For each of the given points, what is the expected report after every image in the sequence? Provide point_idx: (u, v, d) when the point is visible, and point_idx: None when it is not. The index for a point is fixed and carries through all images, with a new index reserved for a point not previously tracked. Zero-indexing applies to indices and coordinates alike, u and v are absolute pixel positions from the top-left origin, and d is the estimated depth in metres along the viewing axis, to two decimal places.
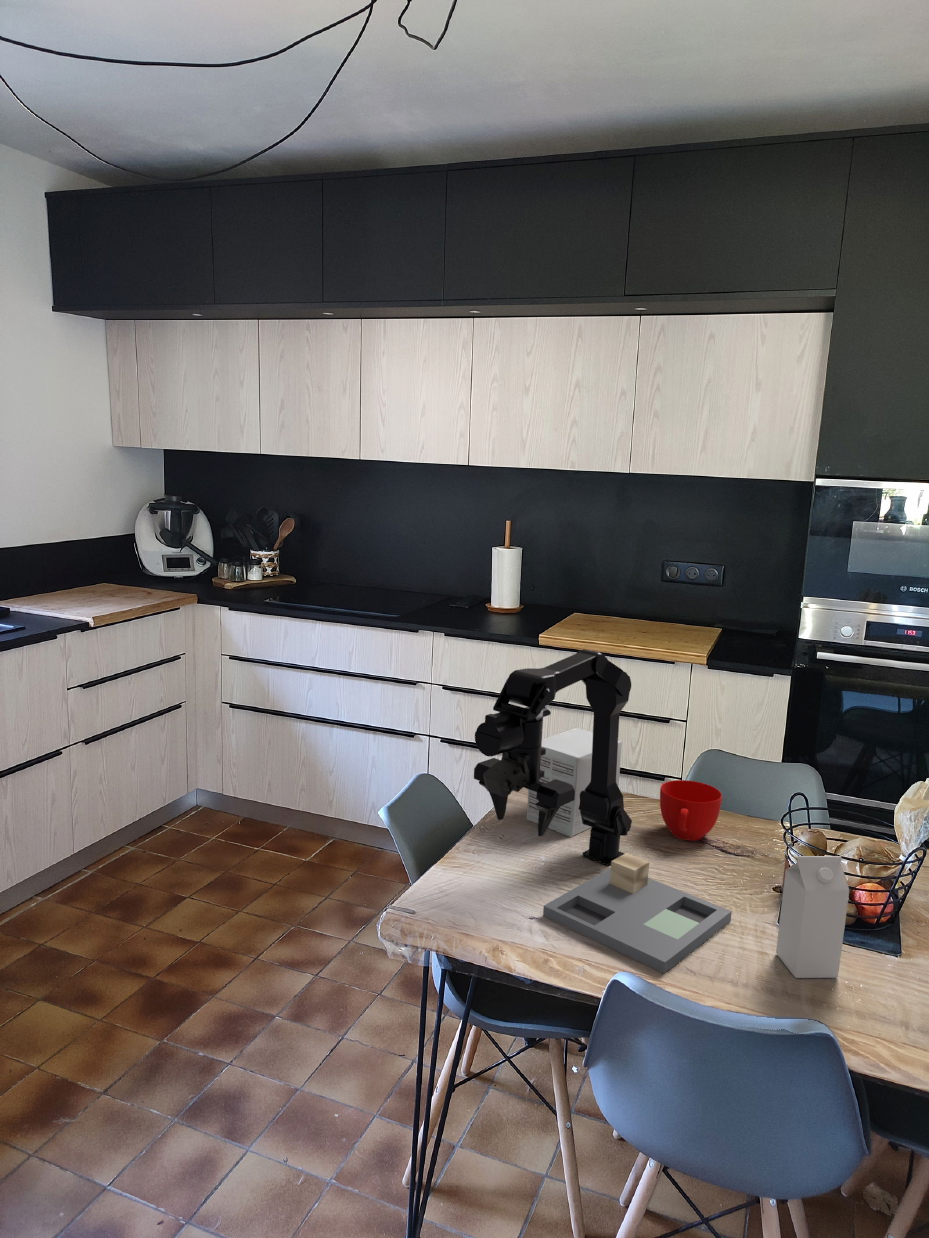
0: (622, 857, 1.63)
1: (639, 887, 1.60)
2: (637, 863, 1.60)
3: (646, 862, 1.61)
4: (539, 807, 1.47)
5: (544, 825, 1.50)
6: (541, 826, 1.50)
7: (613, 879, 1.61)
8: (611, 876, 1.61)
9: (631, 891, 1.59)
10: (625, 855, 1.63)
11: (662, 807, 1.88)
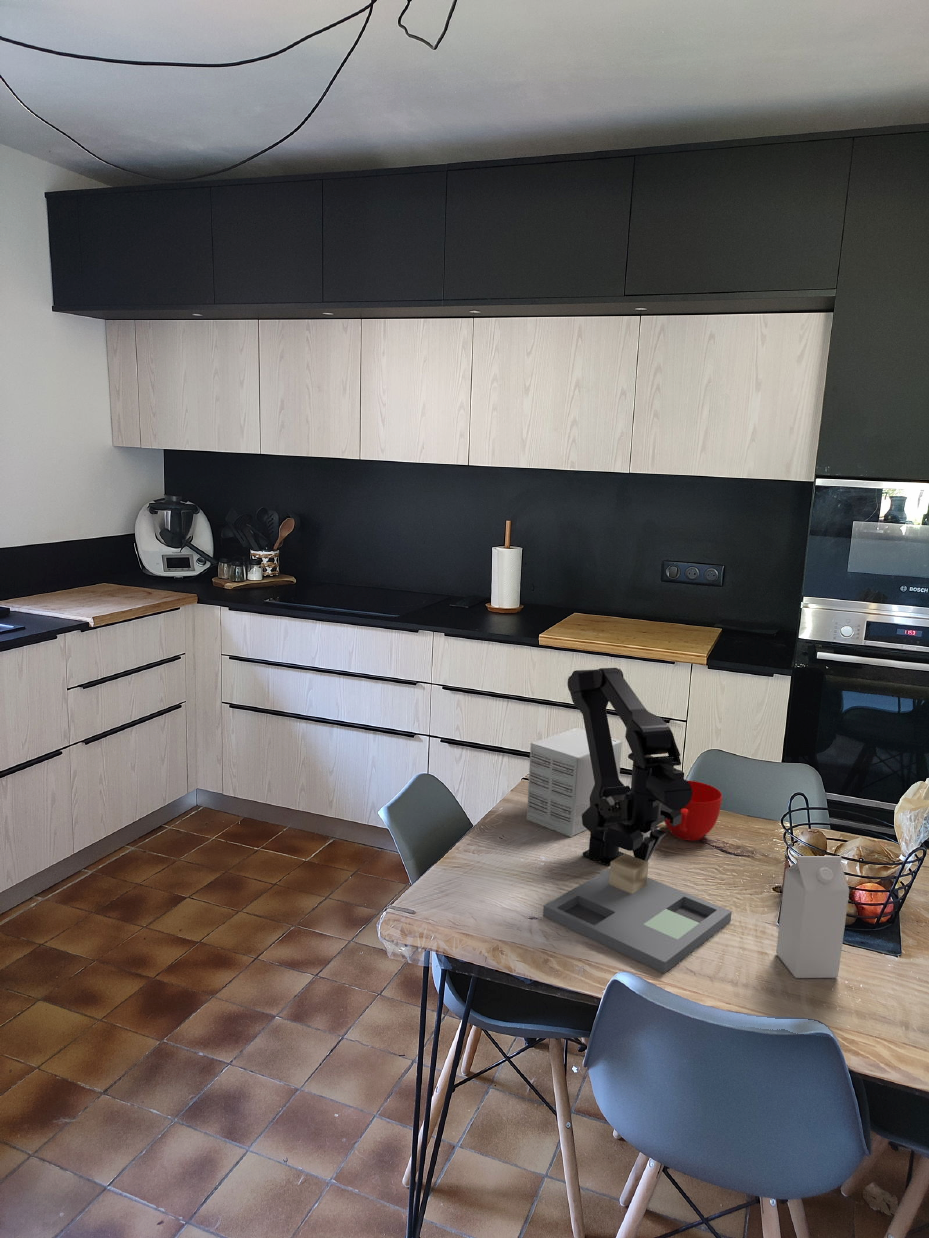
0: (621, 857, 1.62)
1: (638, 887, 1.60)
2: (636, 863, 1.60)
3: (645, 862, 1.61)
4: None
5: (636, 857, 1.63)
6: (634, 856, 1.64)
7: (612, 879, 1.61)
8: (610, 877, 1.61)
9: (630, 891, 1.58)
10: (624, 855, 1.63)
11: None
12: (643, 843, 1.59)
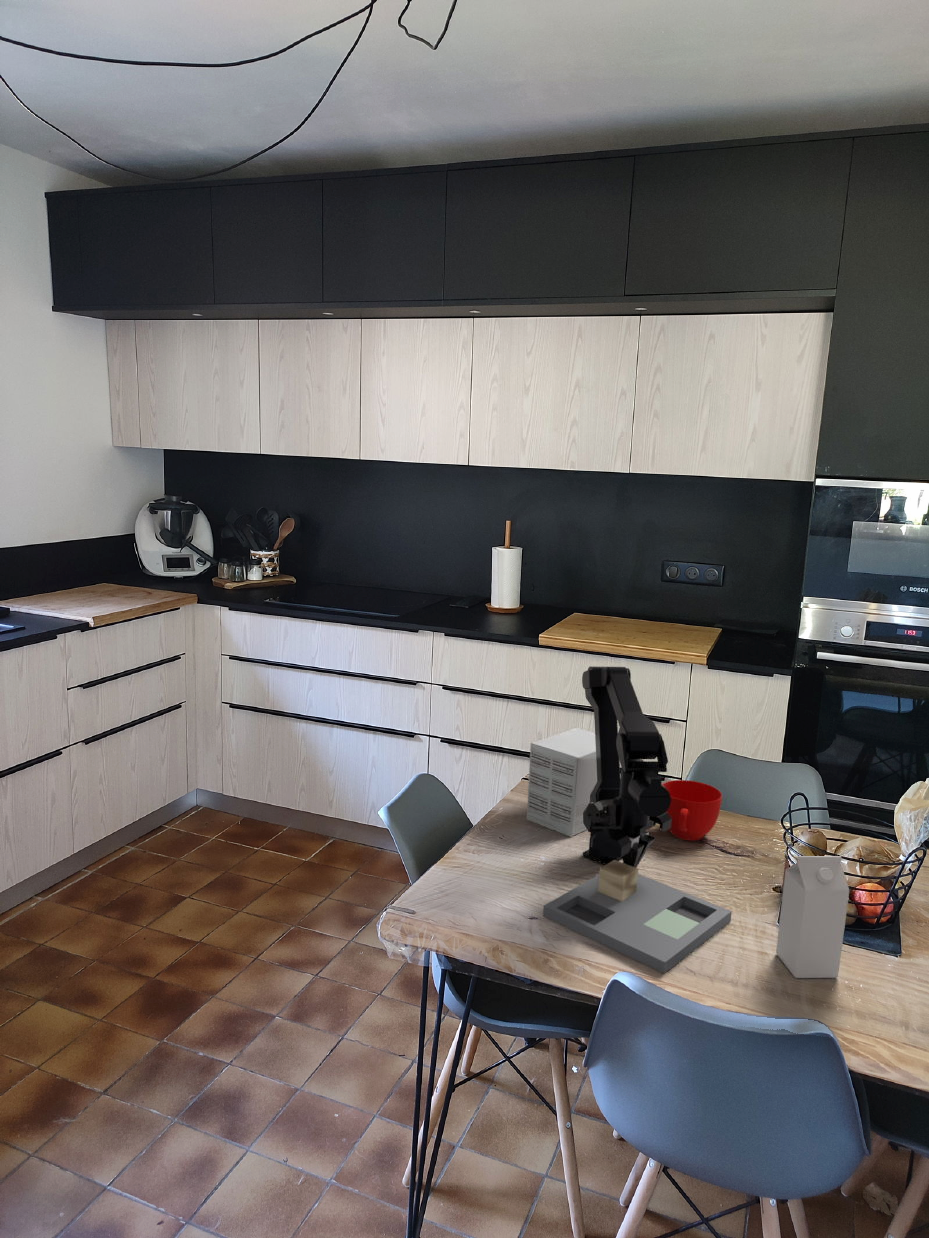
0: (610, 864, 1.60)
1: (628, 894, 1.57)
2: (626, 870, 1.58)
3: (635, 869, 1.58)
4: None
5: (625, 863, 1.60)
6: None
7: (602, 886, 1.58)
8: (599, 884, 1.58)
9: (620, 899, 1.56)
10: (613, 862, 1.60)
11: None
12: (632, 849, 1.56)
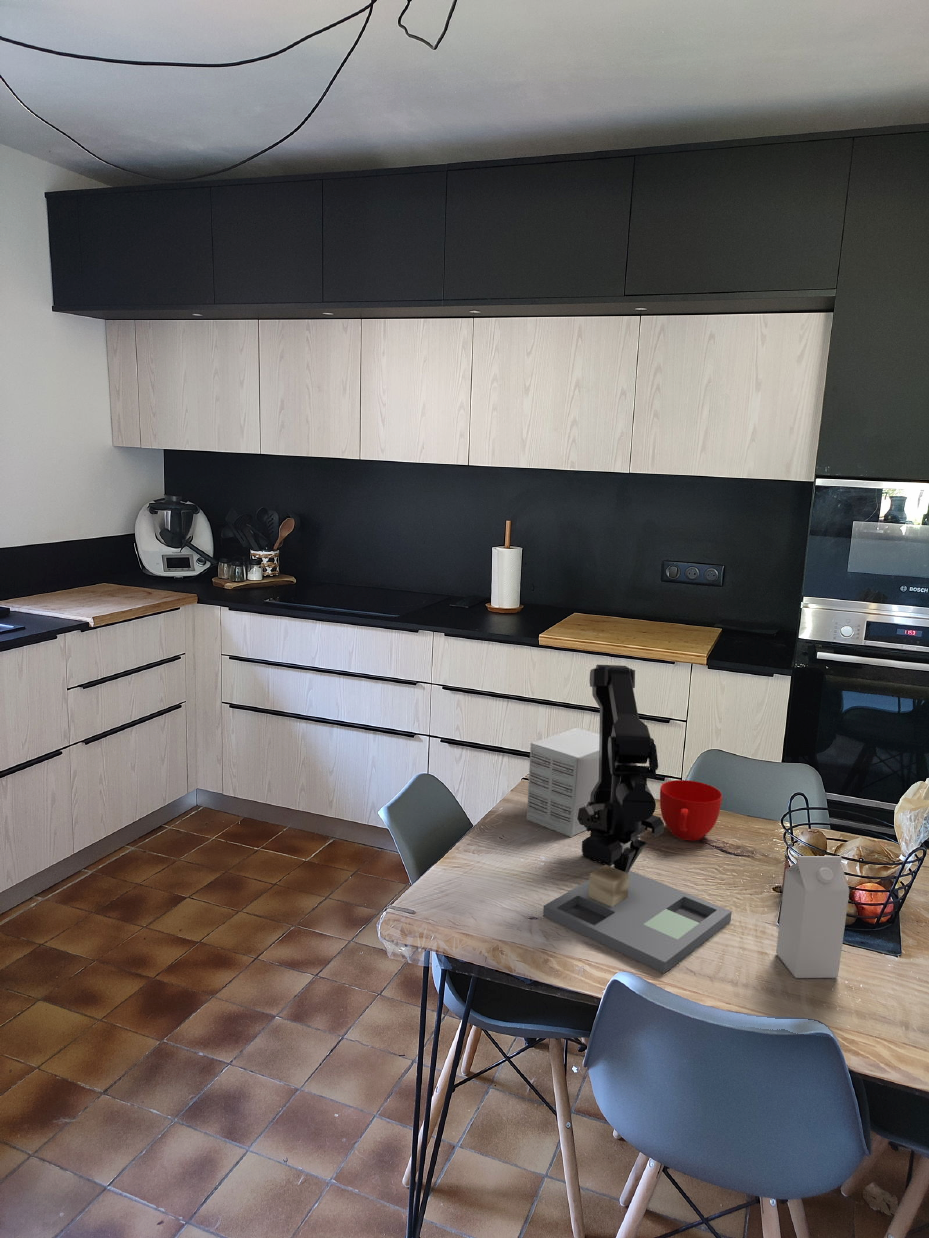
0: (601, 869, 1.57)
1: (619, 900, 1.55)
2: (617, 875, 1.55)
3: (626, 874, 1.56)
4: None
5: (617, 868, 1.58)
6: (614, 867, 1.59)
7: (592, 891, 1.56)
8: (590, 889, 1.56)
9: (610, 904, 1.53)
10: (604, 867, 1.58)
11: (662, 807, 1.88)
12: (623, 854, 1.54)
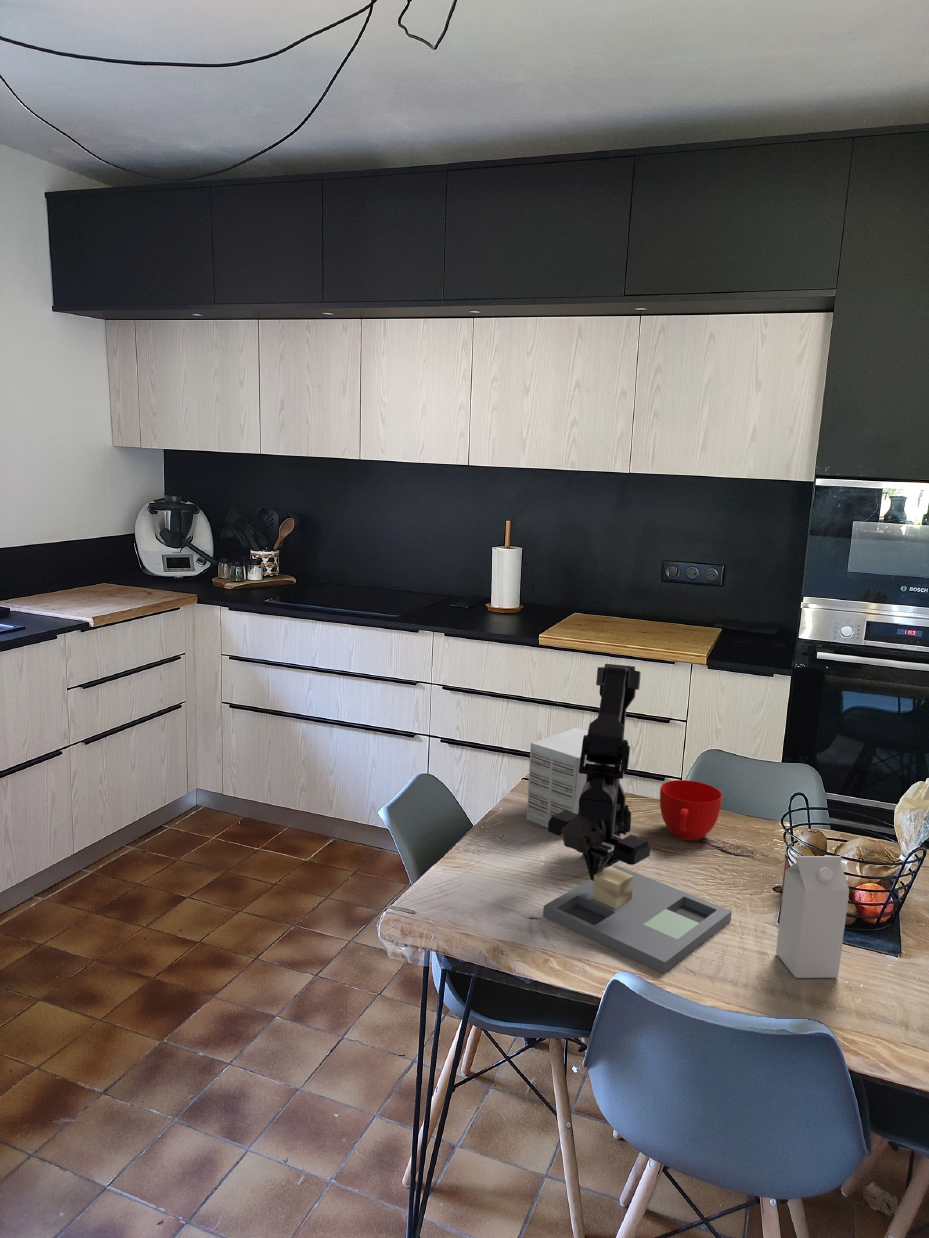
0: (605, 871, 1.57)
1: (622, 902, 1.54)
2: (620, 877, 1.55)
3: (630, 876, 1.55)
4: (594, 854, 1.54)
5: (598, 870, 1.57)
6: (595, 871, 1.57)
7: (596, 893, 1.55)
8: (594, 890, 1.56)
9: (614, 906, 1.53)
10: (609, 868, 1.58)
11: (662, 807, 1.88)
12: None
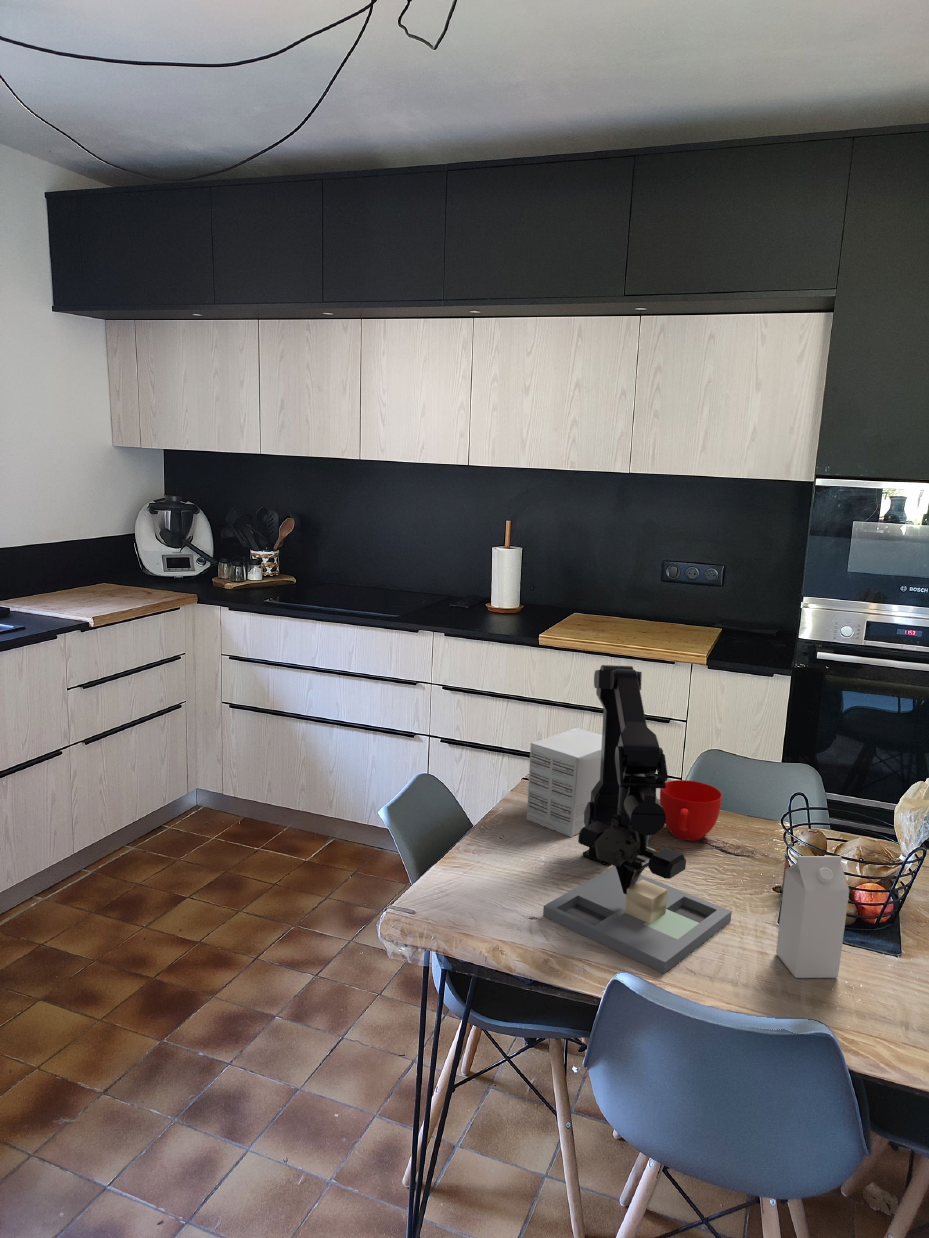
0: (638, 884, 1.52)
1: (656, 917, 1.50)
2: (654, 890, 1.50)
3: (664, 890, 1.51)
4: (628, 867, 1.50)
5: (631, 884, 1.52)
6: (628, 885, 1.52)
7: (629, 907, 1.51)
8: (626, 904, 1.51)
9: (648, 921, 1.48)
10: (641, 882, 1.53)
11: (662, 807, 1.88)
12: None
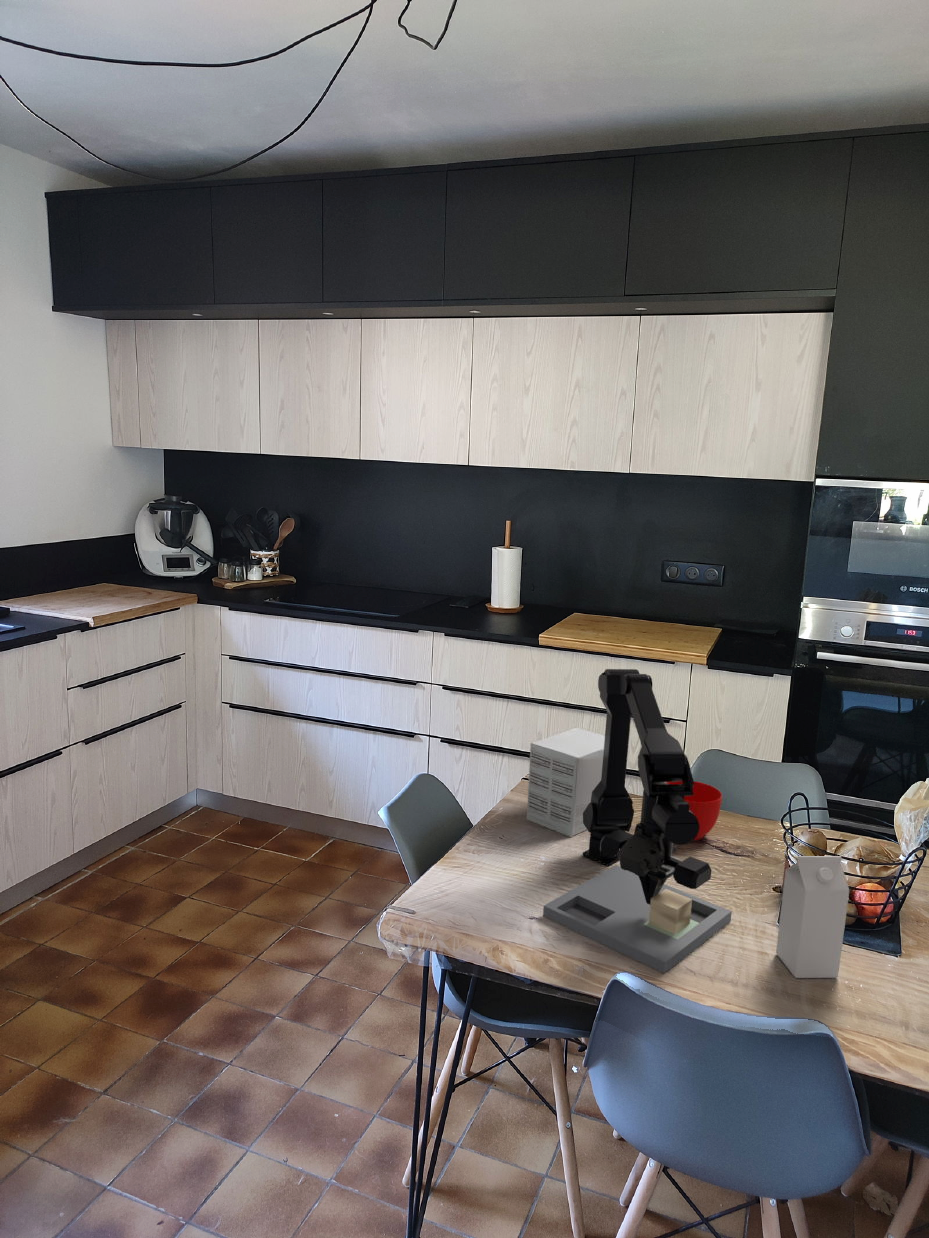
0: (662, 894, 1.49)
1: (681, 927, 1.47)
2: (679, 900, 1.47)
3: (689, 900, 1.48)
4: (652, 877, 1.47)
5: (654, 893, 1.49)
6: (652, 894, 1.49)
7: (653, 918, 1.48)
8: (650, 915, 1.48)
9: (673, 932, 1.45)
10: (665, 891, 1.50)
11: None
12: None
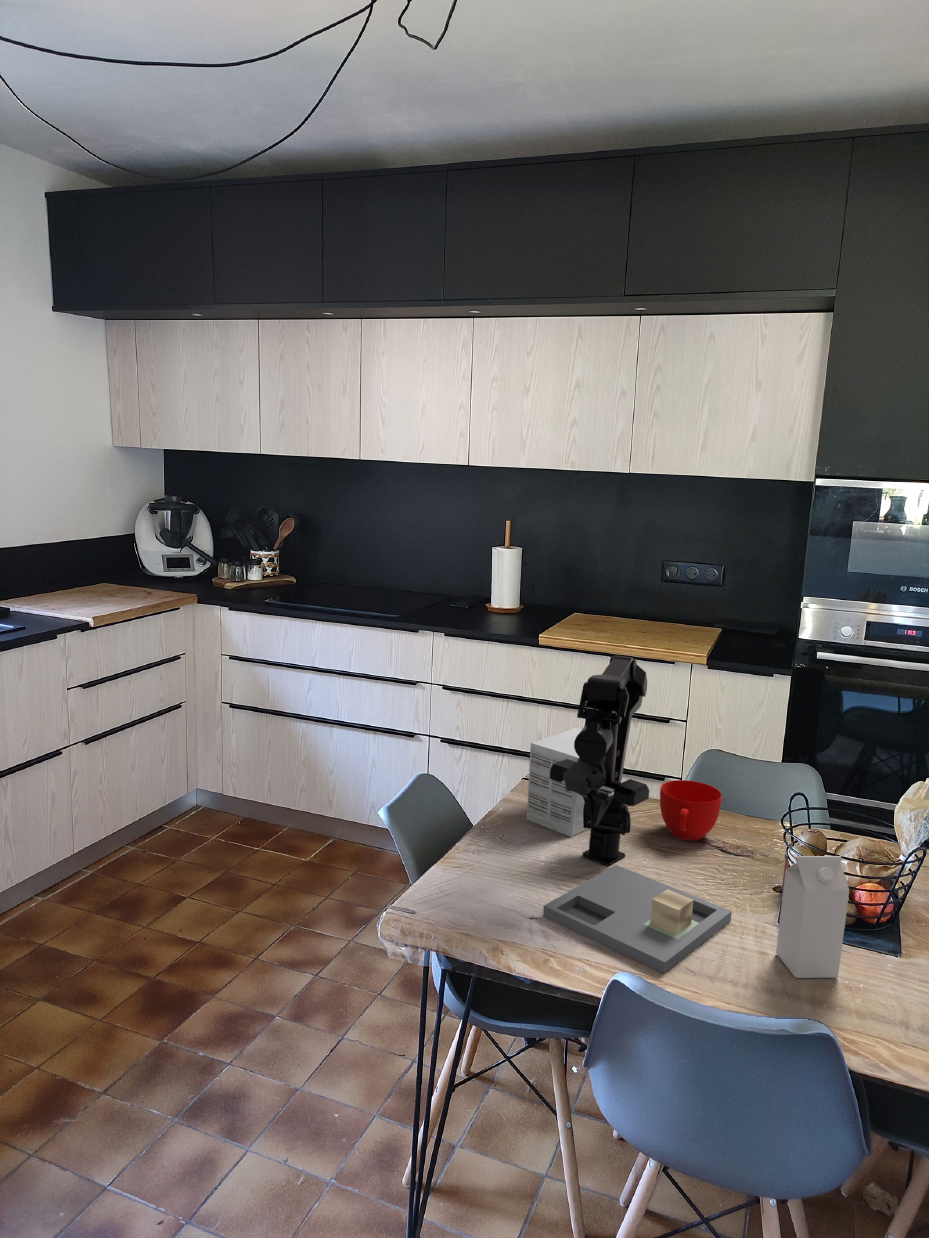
0: (663, 894, 1.49)
1: (683, 928, 1.46)
2: (680, 901, 1.47)
3: (690, 900, 1.47)
4: (595, 798, 1.59)
5: (599, 815, 1.62)
6: (596, 816, 1.62)
7: (654, 918, 1.48)
8: (652, 915, 1.48)
9: (674, 932, 1.45)
10: (666, 892, 1.50)
11: (662, 807, 1.88)
12: None
